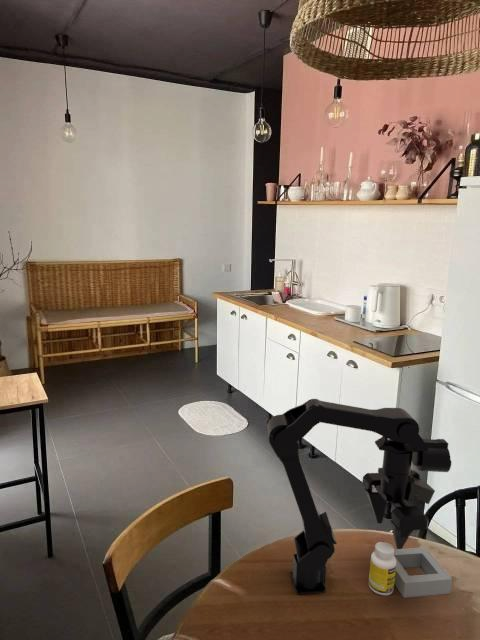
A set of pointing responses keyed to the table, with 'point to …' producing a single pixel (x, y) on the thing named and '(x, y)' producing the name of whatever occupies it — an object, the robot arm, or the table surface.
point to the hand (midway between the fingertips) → (388, 535)
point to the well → (420, 584)
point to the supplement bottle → (382, 569)
